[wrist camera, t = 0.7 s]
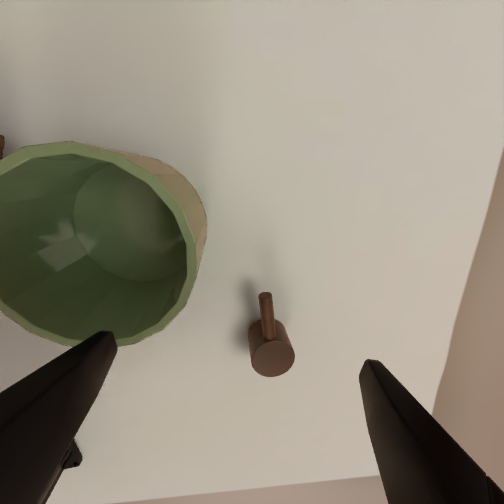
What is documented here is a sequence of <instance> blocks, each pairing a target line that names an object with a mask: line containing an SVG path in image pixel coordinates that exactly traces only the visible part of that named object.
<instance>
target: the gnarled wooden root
mask: <svg viewBox="0 0 504 504" xmlns="http://www.w3.org/2000/svg"><path fill="white" fill-rule="evenodd" d="M3 149H4V136H3V135H0V160H1V159H3V157H2V156H3V153H2V152H3Z"/></svg>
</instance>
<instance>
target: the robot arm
mask: <svg viewBox="0 0 504 504" xmlns="http://www.w3.org/2000/svg"><path fill="white" fill-rule="evenodd" d="M116 353H117V343H116V340H115V336H114V333H113V332H112V331H105V330H101V331H98V332H97V333H95V334H93V335H92V336H90V337H89V338H87V339H85V340H84V341H82V342H81V343H79V344H77V345H76V346H74V347H73V348H71V349H69V350H68V351H66V352H65V353H63V354H61V355H60V356H58V357H57V358H55V359H53V360H52V361H50V362H49V363H47V364H45V365H44V366H42V367H41V368H39V369H37V370H36V371H34V372H33V373H31V374H29V375H28V376H26V377H25V378H23V379H22V380H20V381H18V382H17V383H15V384H14V385H12V386H10V387H9V388H7V389H6V390H4V391H2V392H1V393H0V504H45V503H46V502H47V500H48V498H49V496H50V494H51V492H52V490H53V489H54V487H55V485H56V483H57V481H58V479H59V477H60V476H61V474H62V472H63V470H64V469H67V468H72V467H77V466H79V465H80V464H81V461H82V457H81V455H80V453H79V451H78V449H77V447H76V445H75V443H74V441H73V438H74V437H75V435H76V433H77V431H78V429H79V428H80V426H81V424H82V422H83V421H84V419H85V417H86V415H87V414H88V412H89V410H90V408H91V406H92V405H93V403H94V401H95V399H96V397H97V395H98V393H99V391H100V389H101V387H102V385H103V382H104V380H105V378H106V376H107V373H108V371H109V369H110V367H111V364H112V362H113V360H114V358H115V355H116ZM359 382H360V388H361V393H362V399H363V405H364V411H365V416H366V422H367V427H368V431H369V435H370V439H371V443H372V446H373V450H374V453H375V457H376V461H377V464H378V468H379V471H380V475H381V479H382V482H383V486H384V489H385V492H386V497H387V500H388V504H504V492H503V491H502V490H501V489H500V488H499V487H498V486H497V485H496V483H495V482H494V481H493V480H492V479H491V478H490V477H489V476H486V473H485V472H484V471H483V470H482V469H481V468H480V467H479V466H478V465H477V464H476V462H475V461H473V459H472V458H471V457H470V456H469V455H468V454H467V453H466V452H465V451H464V450H463V449H462V448H461V447H460V446H459V444H458V443H457V442H456V441H455V440H454V439H453V438H452V437H451V436H450V435H449V434H448V433H447V432H446V431H445V430H444V429H443V428H442V426H441V425H440V424H439V423H438V422H437V421H436V420H435V419H434V418H433V417H432V416H431V415H430V414H429V413H428V412H427V411H426V410H425V408H424V407H423V406H422V405H421V404H420V403H419V402H418V401H417V400H416V399H415V398H414V397H413V396H412V395H411V394H410V393H409V392H408V390H407V389H406V388H405V387H404V386H403V385H402V384H401V383H400V382H399V381H398V380H397V379H396V378H395V377H394V376H393V375H392V374H391V372H390V371H389V370H388V369H387V368H386V367H385V366H384V365H383V364H382V363H381V362H380V361H378V360H371V359H367V360H366V361H365V362H364V365H363V367H362V369H361V372H360V374H359Z"/></svg>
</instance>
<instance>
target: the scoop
mask: <svg viewBox="0 0 504 504" xmlns="http://www.w3.org/2000/svg"><path fill="white" fill-rule="evenodd" d="M258 298H259V305H260V313H261V320H260V321H258V322H256V323H255V324H254V325H253V326H252V327H251V328H250V330H249V332H248V343H249V349H250V356H251V363H252V366H253V368H254V370H255V371H256V372H257V373H259V374H260V375H262V376H266V377H275V376H279V375H282V374H284V373H285V372H287V371H288V370H289V369H290V368H291V366H292V365H293V363H294V359H295V354H294V350H293V348H292V345H291V343H290V340H289V338H288V335H287V333H286V330H285V328H284V326H283V325H282V324H281V323H280V322H279V321H277V320H274V311H273V301H272V294H271V293H269V292H262V293H260V294H259V296H258Z"/></svg>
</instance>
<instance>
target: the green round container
mask: <svg viewBox="0 0 504 504" xmlns="http://www.w3.org/2000/svg"><path fill="white" fill-rule="evenodd" d="M206 233H207V221H206V214H205V210H204V207H203V204H202V201H201V199H200V197H199V195H198V194H197V192H196V190H195V189H194V188H193V186H192V185H191V184H190V182H189V181H188V180H187V179H186V178H185V177H184V176H183V175H182V174H180V173H179V172H178V171H176V170H175V169H173V168H172V167H170V166H169V165H167V164H165V163H163V162H161V161H159V160H156V159H152V158H148V157H144V156H140V155H135V154H131V153H126V152H121V151H116V150H111V149H106V148H102V147H97V146H92V145H87V144H82V143H77V142H73V141H65V142H56V143H47V144H38V145H30V146H25V147H22V148H20V149H19V150H17V151H15V152H13V153H12V154H10V155H8V156H6V157H4V158H3V159H1V160H0V311H1V312H2V313H4V314H5V315H7V316H8V317H9V318H11V319H12V320H13V321H15V322H16V323H17V324H19V325H20V326H21V327H23V328H24V329H25V330H27V331H29V332H31V333H33V334H36V335H38V336H41V337H43V338H46V339H49V340H51V341H54V342H56V343H59V344H61V345H65V346H72V347H74V346H76V345H77V344H79V343H81V342H82V341H84V340H85V339H87V338H89V337H90V336H92V335H93V334H95V333H97V332H98V331H101V330H105V331H112V332H113V333H114V336H115V340H116V343H117V347H120V346H126V345H132V344H136V343H138V342H140V341H142V340H144V339H146V338H148V337H149V336H151V335H153V334H155V333H157V332H159V331H161V330H163V329H164V328H165V327H166V326H167V325H168V324H169V323H170V322H171V321H172V320H173V319H174V318H175V317H176V316H177V315H178V314H179V312H180V311H181V310H182V309H183V308H184V307H185V305H186V303H187V301H188V298H189V296H190V293H191V290H192V288H193V285H194V283H195V280H196V277H197V273H198V270H199V266H200V262H201V258H202V254H203V250H204V246H205V243H206Z"/></svg>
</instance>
